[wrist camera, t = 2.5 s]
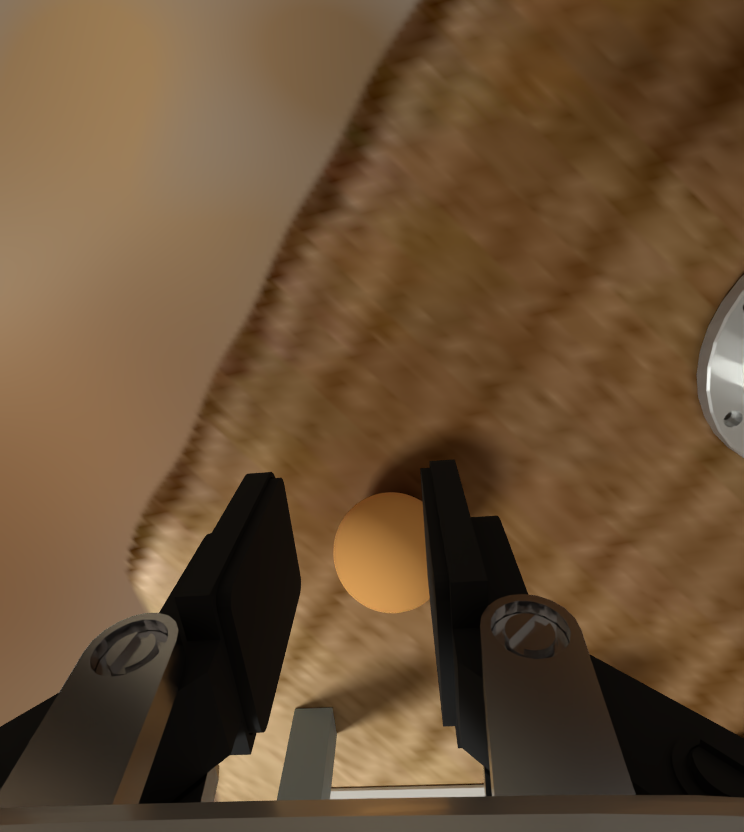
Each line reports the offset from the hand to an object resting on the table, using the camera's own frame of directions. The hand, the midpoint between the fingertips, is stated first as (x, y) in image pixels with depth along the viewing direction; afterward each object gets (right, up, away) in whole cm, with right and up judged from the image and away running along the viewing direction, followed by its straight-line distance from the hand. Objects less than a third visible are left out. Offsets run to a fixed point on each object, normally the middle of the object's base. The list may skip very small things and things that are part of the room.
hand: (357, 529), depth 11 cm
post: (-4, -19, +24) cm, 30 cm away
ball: (+1, -4, +15) cm, 15 cm away
